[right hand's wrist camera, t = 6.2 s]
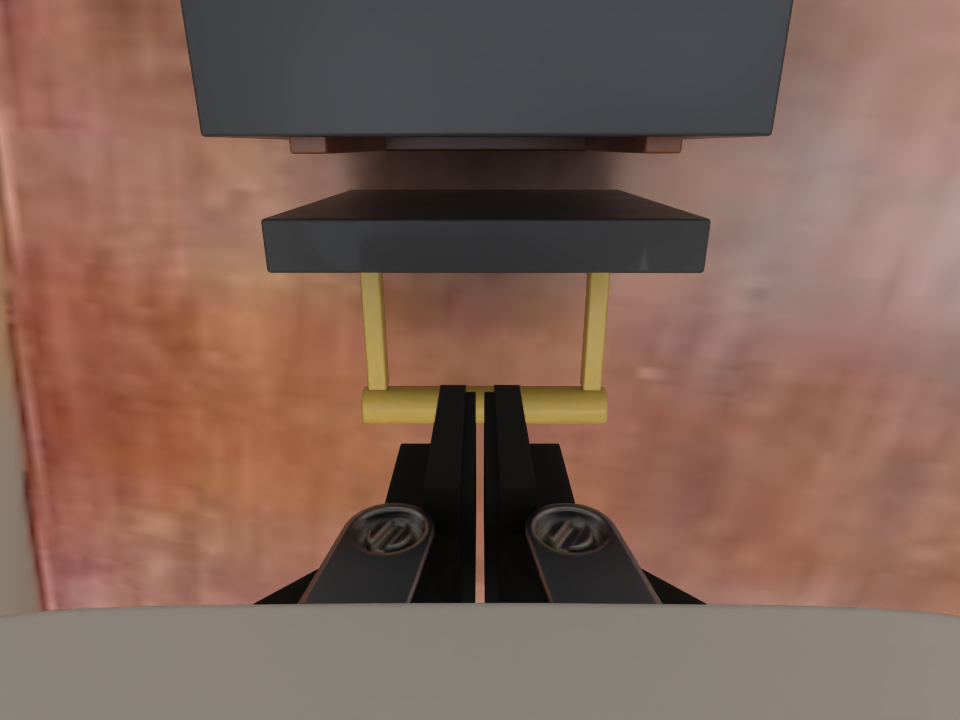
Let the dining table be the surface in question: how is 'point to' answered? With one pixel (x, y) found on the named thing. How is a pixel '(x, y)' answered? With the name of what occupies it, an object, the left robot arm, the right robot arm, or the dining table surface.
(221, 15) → the cabinet
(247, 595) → the dining table surface
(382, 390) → the drawer
